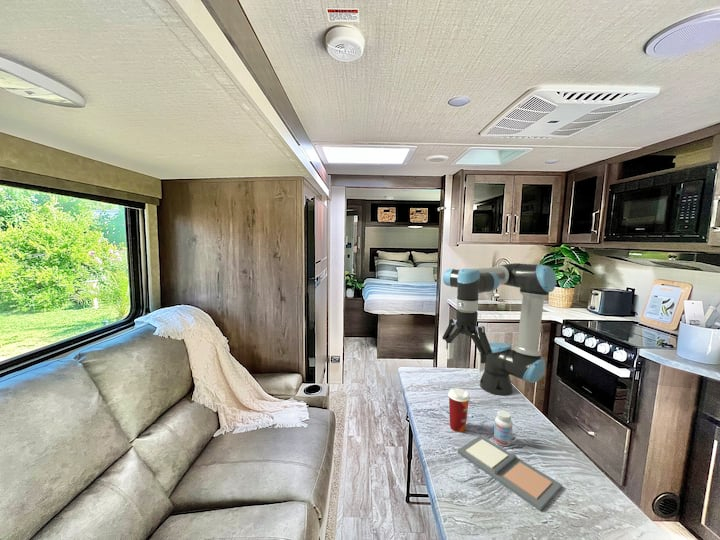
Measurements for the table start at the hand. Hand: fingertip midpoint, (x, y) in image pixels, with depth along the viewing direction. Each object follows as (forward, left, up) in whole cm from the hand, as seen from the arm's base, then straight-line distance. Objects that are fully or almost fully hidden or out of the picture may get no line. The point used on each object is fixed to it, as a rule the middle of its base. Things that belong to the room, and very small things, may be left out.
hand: (464, 364), depth 114 cm
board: (+3, +20, -29) cm, 35 cm away
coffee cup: (-2, -3, -29) cm, 29 cm away
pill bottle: (-9, +12, -29) cm, 32 cm away
